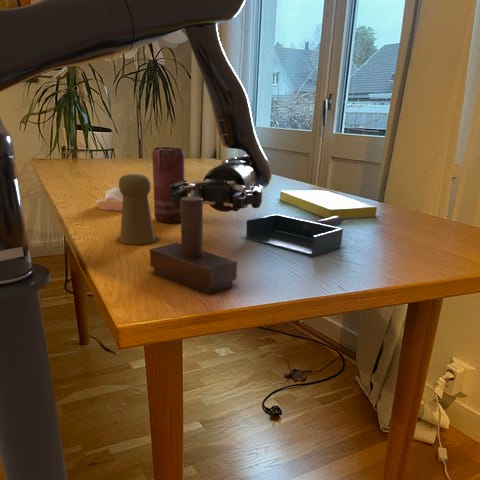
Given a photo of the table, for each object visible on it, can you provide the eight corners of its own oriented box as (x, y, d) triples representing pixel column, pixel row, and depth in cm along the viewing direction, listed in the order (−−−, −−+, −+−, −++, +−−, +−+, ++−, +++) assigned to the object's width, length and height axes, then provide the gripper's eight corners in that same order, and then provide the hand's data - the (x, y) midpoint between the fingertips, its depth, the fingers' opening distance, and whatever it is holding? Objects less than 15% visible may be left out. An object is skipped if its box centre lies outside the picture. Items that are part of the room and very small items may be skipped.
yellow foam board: (375, 216, 108) (320, 197, 128) (377, 206, 107) (320, 189, 127) (329, 219, 103) (279, 199, 123) (330, 209, 102) (280, 190, 122)
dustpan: (313, 256, 77) (315, 236, 76) (245, 238, 86) (246, 220, 85) (371, 236, 91) (374, 219, 89) (307, 222, 100) (309, 207, 98)
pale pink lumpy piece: (103, 192, 99) (88, 185, 106) (105, 213, 101) (90, 205, 108) (147, 189, 104) (130, 182, 112) (148, 209, 106) (131, 201, 113)
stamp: (209, 295, 60) (210, 208, 56) (150, 272, 67) (147, 193, 63) (236, 286, 64) (239, 203, 59) (177, 265, 71) (176, 190, 66)
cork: (123, 245, 79) (118, 177, 75) (117, 236, 84) (112, 172, 80) (158, 243, 82) (156, 176, 77) (151, 234, 87) (148, 171, 82)
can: (149, 222, 95) (145, 148, 90) (163, 215, 101) (161, 146, 95) (176, 225, 94) (175, 150, 88) (189, 218, 99) (189, 147, 93)
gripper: (189, 160, 83) (157, 172, 68) (270, 165, 80) (256, 178, 66) (189, 204, 86) (159, 224, 71) (268, 209, 84) (253, 231, 69)
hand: (206, 202), depth 69 cm, fingers open, 8 cm apart
